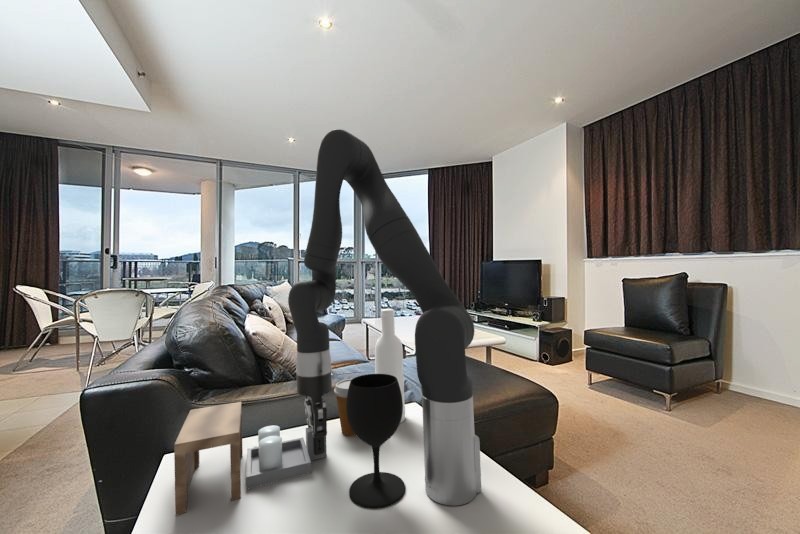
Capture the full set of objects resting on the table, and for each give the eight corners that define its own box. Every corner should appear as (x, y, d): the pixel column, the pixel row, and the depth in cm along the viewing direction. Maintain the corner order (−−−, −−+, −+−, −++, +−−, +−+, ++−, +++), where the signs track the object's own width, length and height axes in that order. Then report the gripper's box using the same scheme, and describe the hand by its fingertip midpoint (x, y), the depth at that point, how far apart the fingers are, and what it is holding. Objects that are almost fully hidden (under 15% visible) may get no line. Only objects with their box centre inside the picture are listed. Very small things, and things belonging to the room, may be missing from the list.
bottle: (383, 412, 100) (380, 308, 101) (409, 415, 97) (405, 308, 98) (371, 423, 92) (368, 311, 93) (399, 427, 90) (395, 311, 90)
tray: (320, 444, 82) (320, 414, 83) (331, 469, 71) (330, 435, 72) (247, 460, 76) (246, 428, 76) (246, 490, 65) (245, 453, 65)
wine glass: (399, 512, 57) (395, 390, 58) (340, 505, 59) (336, 388, 60) (410, 476, 67) (406, 372, 68) (359, 471, 70) (356, 371, 70)
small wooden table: (242, 454, 78) (241, 401, 79) (240, 498, 62) (239, 432, 63) (191, 465, 74) (190, 409, 75) (175, 515, 58) (174, 444, 59)
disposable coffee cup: (349, 443, 82) (347, 392, 82) (328, 431, 89) (326, 383, 89) (380, 430, 88) (378, 382, 88) (358, 419, 95) (357, 375, 96)
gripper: (338, 376, 72) (340, 457, 71) (324, 361, 85) (326, 430, 84) (300, 381, 69) (303, 466, 68) (292, 365, 82) (294, 436, 81)
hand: (316, 446), depth 76 cm, fingers open, 6 cm apart
